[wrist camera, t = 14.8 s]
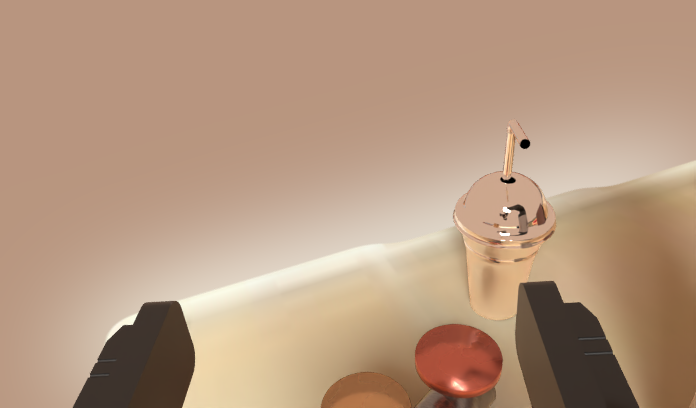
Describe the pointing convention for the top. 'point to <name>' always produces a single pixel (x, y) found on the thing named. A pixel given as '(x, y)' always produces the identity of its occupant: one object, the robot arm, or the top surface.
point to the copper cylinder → (366, 392)
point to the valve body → (458, 367)
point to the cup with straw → (502, 232)
